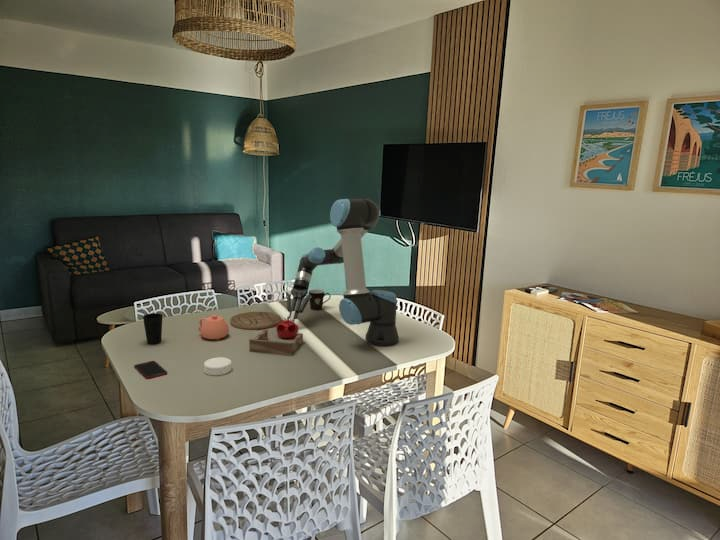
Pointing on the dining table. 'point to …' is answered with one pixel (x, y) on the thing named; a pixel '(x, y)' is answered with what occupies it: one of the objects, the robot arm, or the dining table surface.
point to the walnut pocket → (274, 345)
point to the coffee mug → (317, 299)
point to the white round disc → (217, 366)
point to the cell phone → (150, 370)
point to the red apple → (287, 329)
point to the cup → (153, 328)
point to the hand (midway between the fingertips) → (291, 324)
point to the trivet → (255, 320)
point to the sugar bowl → (213, 327)
